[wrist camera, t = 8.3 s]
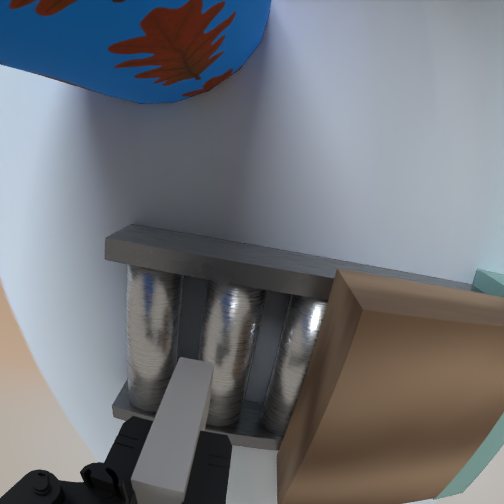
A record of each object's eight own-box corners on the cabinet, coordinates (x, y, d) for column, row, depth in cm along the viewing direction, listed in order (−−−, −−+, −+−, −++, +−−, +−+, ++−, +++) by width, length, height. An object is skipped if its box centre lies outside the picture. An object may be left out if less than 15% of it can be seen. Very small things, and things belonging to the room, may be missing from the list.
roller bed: (131, 224, 16) (105, 237, 13) (472, 284, 16) (500, 304, 13) (129, 387, 19) (113, 417, 16) (410, 421, 19) (423, 449, 16)
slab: (336, 268, 13) (363, 309, 9) (502, 297, 13) (547, 329, 9) (276, 455, 16) (277, 508, 13) (418, 455, 17) (436, 497, 13)
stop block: (477, 269, 16) (551, 317, 9) (503, 275, 16) (573, 320, 9) (404, 430, 20) (433, 499, 13) (431, 428, 20) (462, 492, 13)
